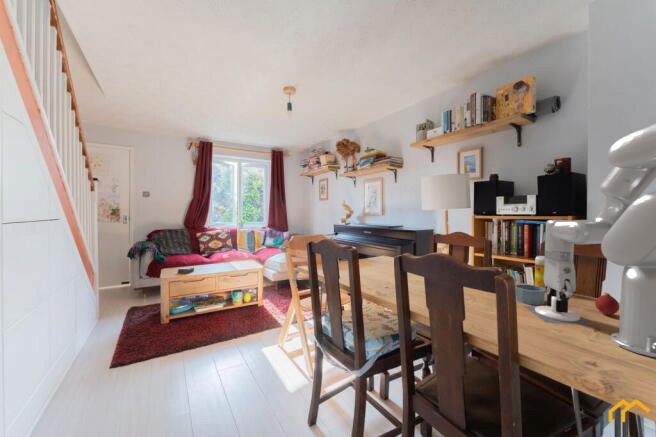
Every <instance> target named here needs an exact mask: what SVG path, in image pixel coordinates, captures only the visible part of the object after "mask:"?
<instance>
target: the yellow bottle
mask: <svg viewBox="0 0 656 437" xmlns="http://www.w3.org/2000/svg"><path fill="white" fill-rule="evenodd" d="M534 261H535V262H534V263H535V264H534V286H538V287H542V288H544V289H545V292H547V289H546V286H545V284H544V267H545V261H546V260H545V255H536V257H535V260H534Z"/></svg>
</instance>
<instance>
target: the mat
mask: <svg viewBox="0 0 656 437" xmlns="http://www.w3.org/2000/svg"><path fill="white" fill-rule="evenodd" d="M523 307H524V308H526V309H527V310H528V311H529V312H531V313H532V314H534V315H535V316H536V317H538V318H539V319H540V320H542V321H543V322H545V323H553V324H566V325H579V326H592V327H593V326H594V327H597V325H596V324H594V323H593V322H591V321H589V320H588V319H585V318H584V317H582V316H580V321H578V322H564V321H558V320H553V319H549V318H546V317H543V316H541V315H538V314H537V313H536V312H535V307H536V306H534V305H533V306H530V305H523Z"/></svg>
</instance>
